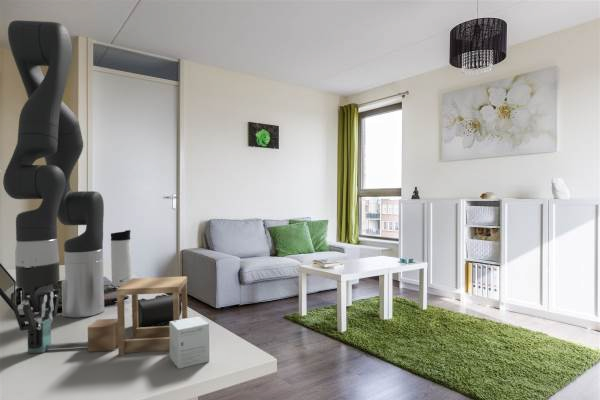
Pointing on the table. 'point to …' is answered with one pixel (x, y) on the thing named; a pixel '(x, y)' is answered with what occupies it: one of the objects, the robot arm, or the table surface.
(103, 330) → the corded block
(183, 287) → the shelf lane
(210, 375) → the table surface
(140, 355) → the table surface
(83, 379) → the table surface
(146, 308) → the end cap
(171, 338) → the product box
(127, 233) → the travel mug
